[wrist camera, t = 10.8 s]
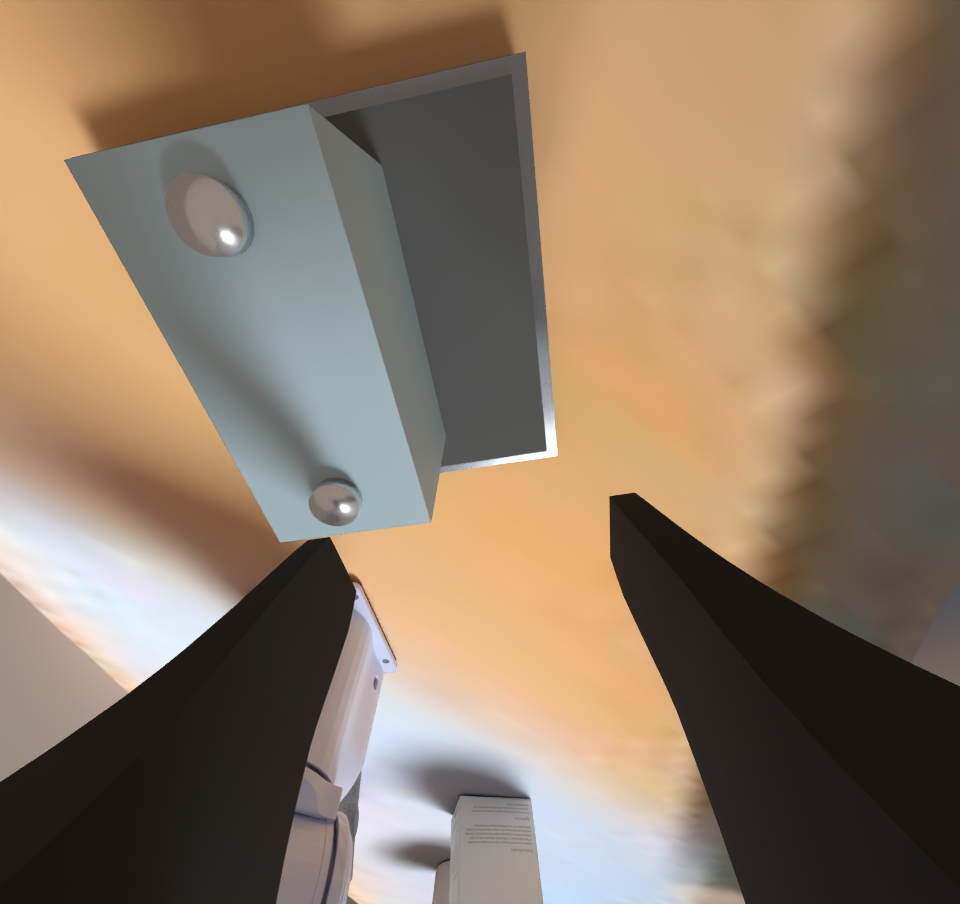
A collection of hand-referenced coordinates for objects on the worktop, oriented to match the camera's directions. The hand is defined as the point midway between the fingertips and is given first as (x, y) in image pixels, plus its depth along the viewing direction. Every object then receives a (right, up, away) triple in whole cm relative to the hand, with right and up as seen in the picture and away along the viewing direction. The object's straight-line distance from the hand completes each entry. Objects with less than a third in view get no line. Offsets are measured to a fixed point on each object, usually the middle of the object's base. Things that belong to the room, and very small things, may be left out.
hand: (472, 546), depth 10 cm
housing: (-5, +7, +5) cm, 10 cm away
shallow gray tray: (-5, +8, +7) cm, 12 cm away
